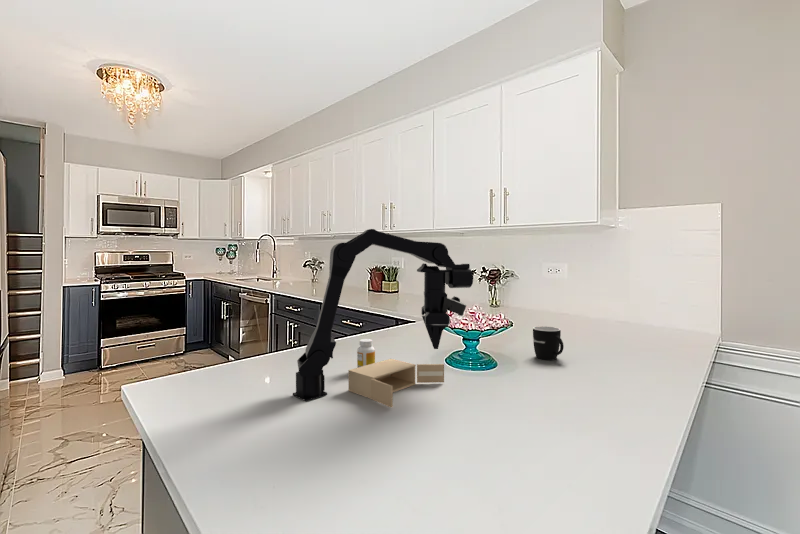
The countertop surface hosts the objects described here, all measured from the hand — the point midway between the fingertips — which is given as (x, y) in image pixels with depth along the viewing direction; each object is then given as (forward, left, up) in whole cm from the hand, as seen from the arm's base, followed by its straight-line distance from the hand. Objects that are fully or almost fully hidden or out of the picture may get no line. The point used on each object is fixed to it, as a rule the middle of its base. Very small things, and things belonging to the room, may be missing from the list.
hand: (434, 345), depth 116 cm
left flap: (-21, -1, -10) cm, 23 cm away
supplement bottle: (-5, +22, -11) cm, 25 cm away
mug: (+48, -12, -11) cm, 50 cm away
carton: (-12, +8, -11) cm, 18 cm away
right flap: (-1, +1, -10) cm, 10 cm away
